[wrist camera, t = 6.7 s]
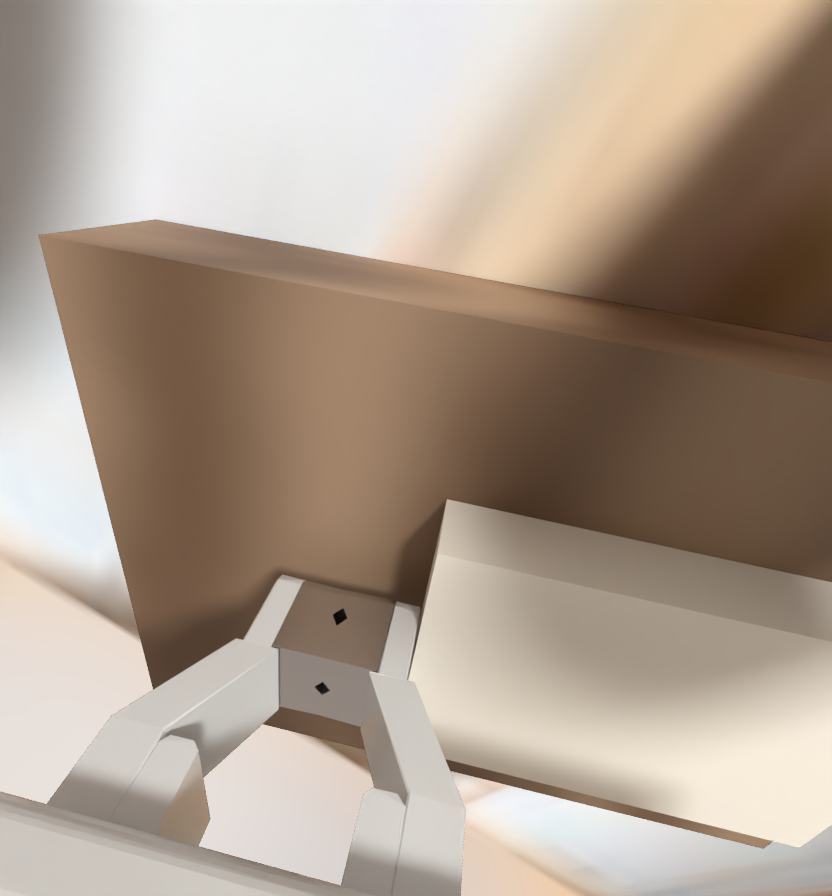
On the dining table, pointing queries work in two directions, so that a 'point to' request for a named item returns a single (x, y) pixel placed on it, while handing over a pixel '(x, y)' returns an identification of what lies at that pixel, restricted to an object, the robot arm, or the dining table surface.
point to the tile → (630, 672)
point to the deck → (411, 430)
